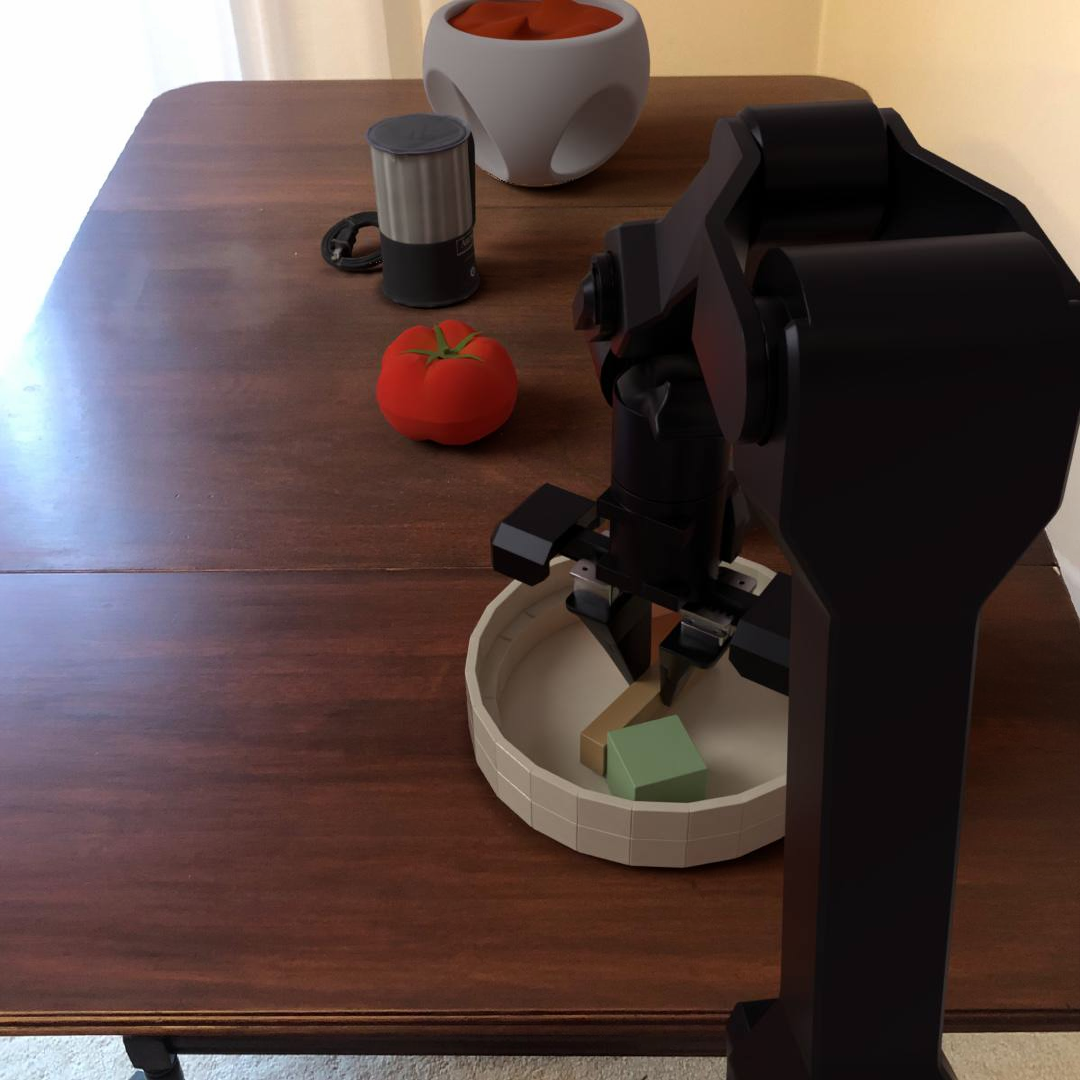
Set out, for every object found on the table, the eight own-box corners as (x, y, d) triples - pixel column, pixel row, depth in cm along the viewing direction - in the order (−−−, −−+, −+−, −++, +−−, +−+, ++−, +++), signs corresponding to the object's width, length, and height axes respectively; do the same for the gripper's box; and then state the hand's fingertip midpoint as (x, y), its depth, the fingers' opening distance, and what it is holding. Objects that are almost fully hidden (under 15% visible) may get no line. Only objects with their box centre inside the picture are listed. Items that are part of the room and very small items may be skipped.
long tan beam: (723, 656, 73) (726, 626, 72) (602, 777, 66) (603, 746, 64) (700, 644, 74) (703, 615, 72) (579, 763, 67) (579, 733, 65)
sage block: (703, 819, 64) (708, 768, 62) (632, 838, 63) (634, 787, 61) (673, 764, 67) (677, 713, 65) (605, 782, 66) (607, 731, 64)
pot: (653, 137, 144) (660, -25, 133) (636, 221, 125) (642, 41, 114) (454, 130, 147) (444, -29, 136) (408, 210, 128) (393, 34, 117)
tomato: (491, 473, 90) (487, 386, 86) (357, 449, 93) (346, 363, 89) (537, 400, 98) (536, 317, 94) (412, 380, 101) (405, 298, 97)
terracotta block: (697, 654, 74) (702, 604, 72) (637, 671, 73) (639, 621, 71) (669, 613, 77) (672, 564, 75) (611, 629, 76) (612, 580, 74)
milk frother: (475, 311, 111) (466, 150, 101) (302, 309, 111) (278, 149, 102) (487, 243, 122) (480, 93, 113) (330, 243, 122) (311, 93, 113)
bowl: (903, 835, 64) (920, 771, 61) (506, 908, 61) (503, 844, 58) (765, 580, 80) (773, 520, 77) (446, 627, 77) (441, 566, 74)
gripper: (913, 449, 61) (866, 674, 70) (594, 348, 69) (592, 562, 79) (821, 569, 53) (783, 801, 63) (478, 441, 62) (490, 663, 72)
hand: (655, 694), depth 69 cm, fingers closed on long tan beam, 2 cm apart
